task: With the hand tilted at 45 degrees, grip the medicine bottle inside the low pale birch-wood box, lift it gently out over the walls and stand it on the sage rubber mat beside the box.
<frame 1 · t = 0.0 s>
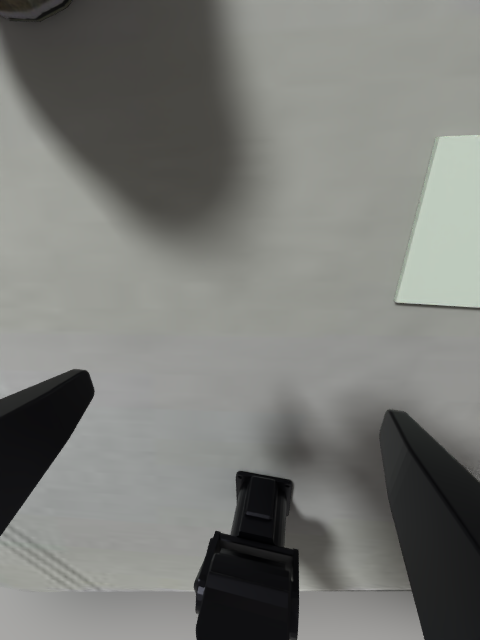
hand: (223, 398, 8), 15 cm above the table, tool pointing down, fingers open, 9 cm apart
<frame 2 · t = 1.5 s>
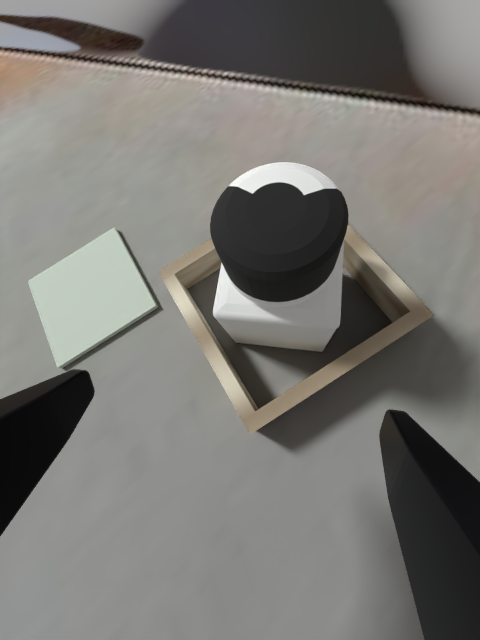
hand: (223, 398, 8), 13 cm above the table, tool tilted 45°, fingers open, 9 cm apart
medicine bottle: (282, 306, 23), resting in birch box
sage mat: (91, 294, 26), on the table
birch box: (282, 305, 23), on the table
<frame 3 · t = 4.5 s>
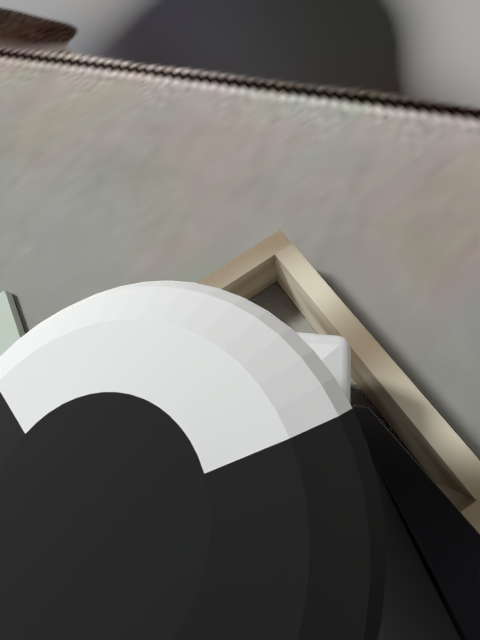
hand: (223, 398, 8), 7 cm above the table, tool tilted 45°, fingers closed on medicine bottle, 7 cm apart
medicine bottle: (246, 432, 14), resting in birch box, touching gripper
birch box: (246, 432, 14), on the table
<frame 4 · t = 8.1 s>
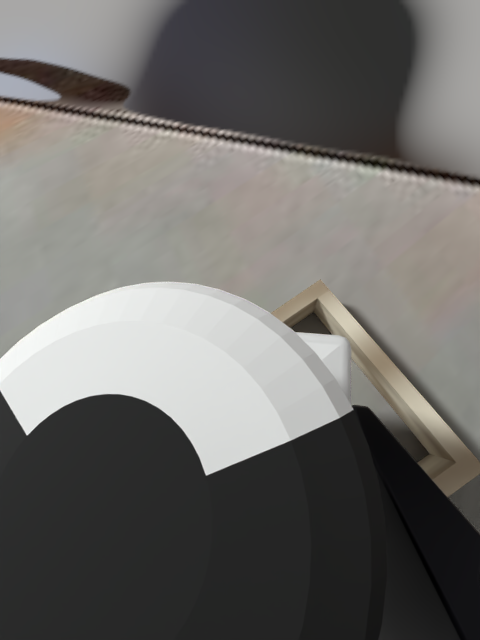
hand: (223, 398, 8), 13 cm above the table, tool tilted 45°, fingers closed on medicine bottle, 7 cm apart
medicine bottle: (247, 431, 14), point 6 cm above the table, touching gripper
birch box: (297, 423, 20), on the table
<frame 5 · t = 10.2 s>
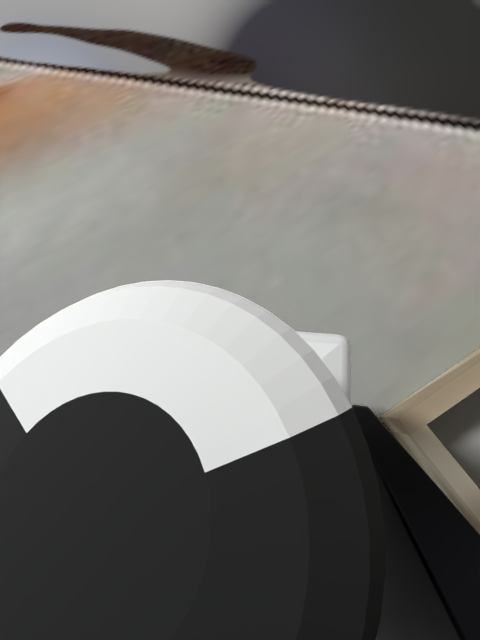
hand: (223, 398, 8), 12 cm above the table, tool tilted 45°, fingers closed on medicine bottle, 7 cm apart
medicine bottle: (247, 430, 14), point 5 cm above the table, touching gripper
when the fingers open (8 cm above the table, at t = 11.8 s): medicine bottle drops 1 cm, resting on sage mat.
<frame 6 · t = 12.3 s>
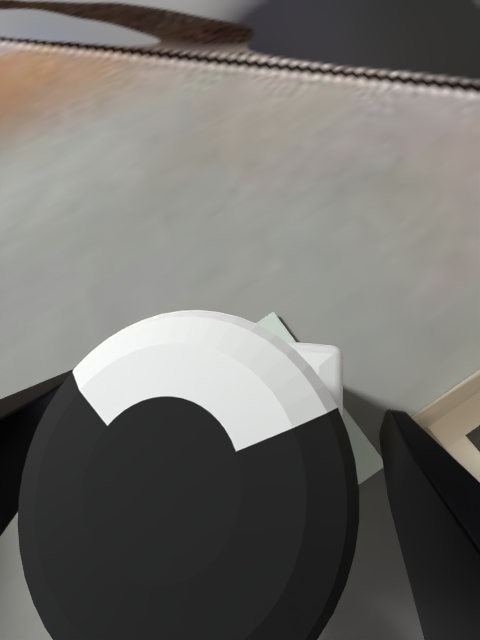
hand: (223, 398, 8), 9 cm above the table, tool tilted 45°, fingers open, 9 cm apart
medicine bottle: (251, 429, 16), resting on sage mat
sage mat: (250, 429, 16), on the table
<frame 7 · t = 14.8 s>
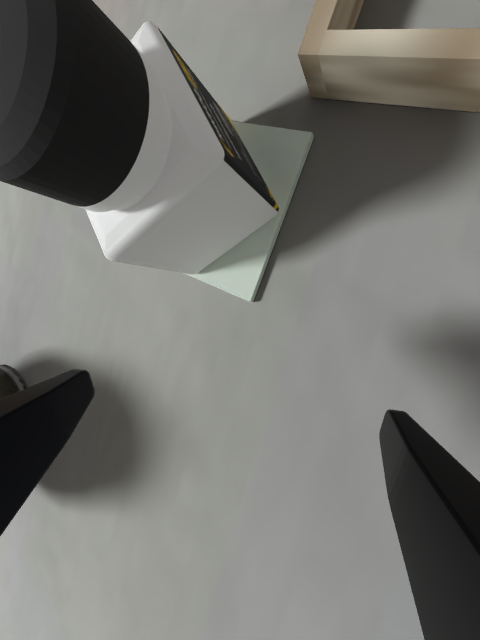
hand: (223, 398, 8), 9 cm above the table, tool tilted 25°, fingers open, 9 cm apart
medicine bottle: (213, 203, 18), resting on sage mat
lantern: (6, 418, 32), on the table
sage mat: (215, 205, 19), on the table
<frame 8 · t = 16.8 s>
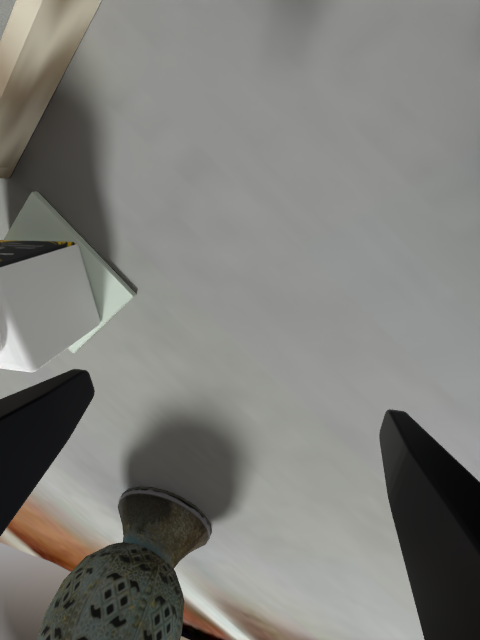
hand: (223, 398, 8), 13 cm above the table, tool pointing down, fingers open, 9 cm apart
medicine bottle: (56, 282, 24), resting on sage mat
lantern: (162, 516, 39), on the table
sage mat: (60, 282, 24), on the table
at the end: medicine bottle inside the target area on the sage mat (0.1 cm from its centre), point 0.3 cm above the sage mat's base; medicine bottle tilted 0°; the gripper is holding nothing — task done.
